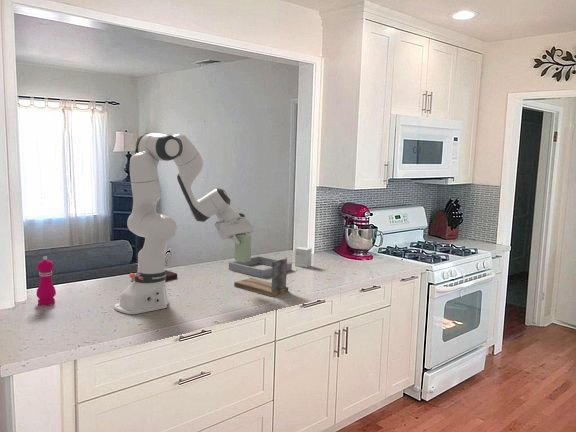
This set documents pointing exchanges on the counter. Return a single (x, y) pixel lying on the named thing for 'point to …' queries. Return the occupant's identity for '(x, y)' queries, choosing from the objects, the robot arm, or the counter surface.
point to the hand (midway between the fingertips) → (244, 243)
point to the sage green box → (243, 248)
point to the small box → (303, 257)
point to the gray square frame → (246, 269)
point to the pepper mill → (45, 283)
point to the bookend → (265, 287)
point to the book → (167, 276)
